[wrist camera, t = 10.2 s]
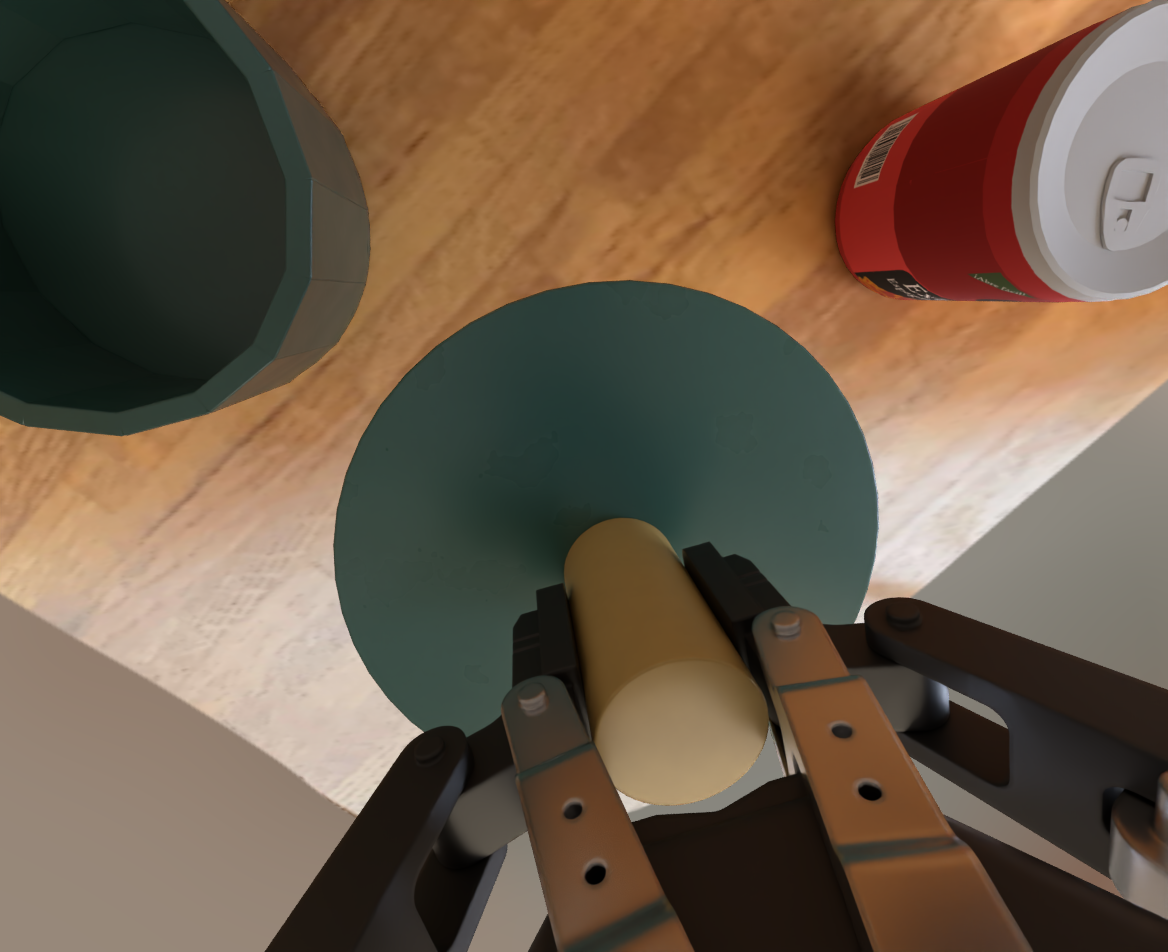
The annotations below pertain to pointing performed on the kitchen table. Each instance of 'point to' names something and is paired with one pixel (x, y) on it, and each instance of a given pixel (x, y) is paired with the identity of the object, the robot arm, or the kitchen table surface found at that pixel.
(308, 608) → the kitchen table surface
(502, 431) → the lid
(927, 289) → the canned food
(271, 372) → the tin
